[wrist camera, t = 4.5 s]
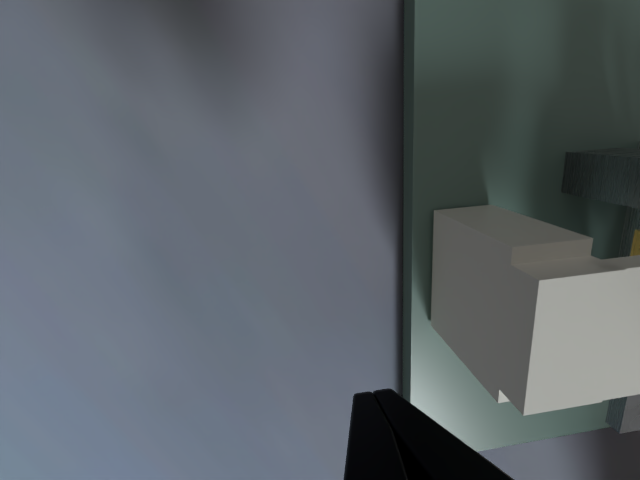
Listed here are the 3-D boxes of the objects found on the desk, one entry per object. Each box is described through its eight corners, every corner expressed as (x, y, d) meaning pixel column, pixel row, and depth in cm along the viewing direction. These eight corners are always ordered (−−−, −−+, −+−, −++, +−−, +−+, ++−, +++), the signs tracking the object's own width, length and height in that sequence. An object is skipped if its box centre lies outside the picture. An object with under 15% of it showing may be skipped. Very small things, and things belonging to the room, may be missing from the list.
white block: (528, 311, 17) (663, 405, 11) (430, 325, 16) (521, 430, 10) (540, 199, 15) (704, 241, 10) (434, 210, 15) (541, 260, 9)
